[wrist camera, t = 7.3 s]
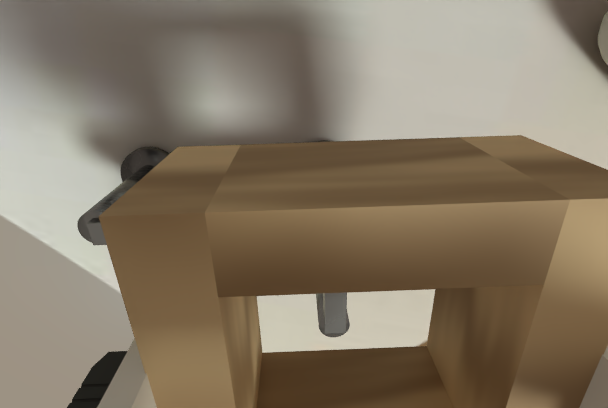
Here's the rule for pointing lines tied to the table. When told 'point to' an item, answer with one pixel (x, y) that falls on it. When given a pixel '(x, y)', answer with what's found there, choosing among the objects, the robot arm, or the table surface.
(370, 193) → the wooden square frame
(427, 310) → the table surface
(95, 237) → the gray metal stand
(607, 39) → the donut
